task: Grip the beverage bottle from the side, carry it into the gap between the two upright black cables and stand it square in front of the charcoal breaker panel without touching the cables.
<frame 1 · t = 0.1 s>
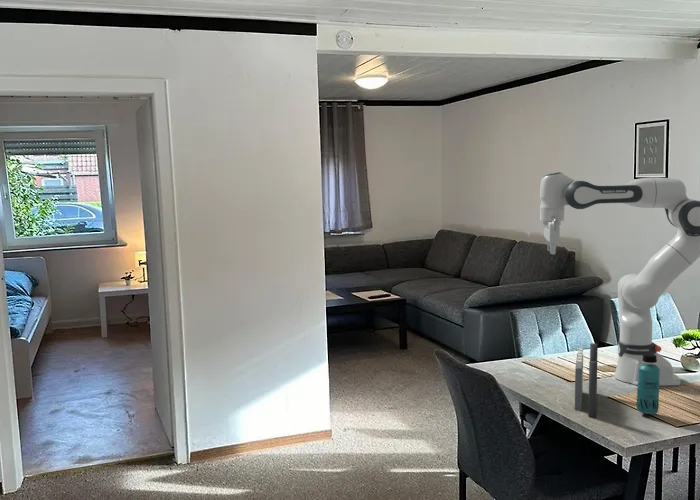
hand: (551, 252, 237), 48 cm above the table, tool pointing down, fingers open, 8 cm apart
beverage bottle: (647, 415, 201), on the table
breaker panel: (578, 403, 213), on the table
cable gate: (592, 404, 211), on the table
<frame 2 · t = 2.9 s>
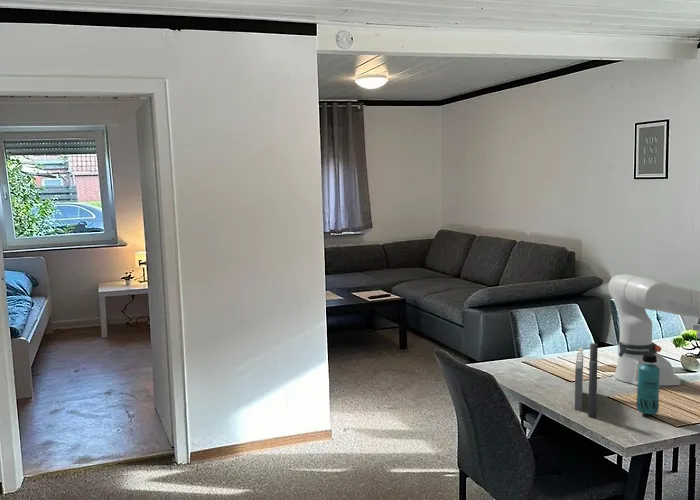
hand: (694, 331, 193), 28 cm above the table, tool horizontal, fingers open, 8 cm apart
nothing on the table moved.
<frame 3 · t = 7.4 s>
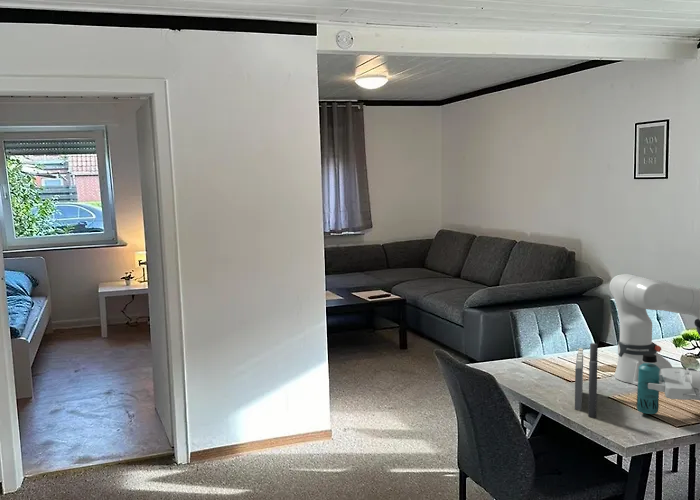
hand: (646, 381, 200), 11 cm above the table, tool horizontal, fingers open, 7 cm apart
beverage bottle: (647, 415, 201), on the table, touching gripper
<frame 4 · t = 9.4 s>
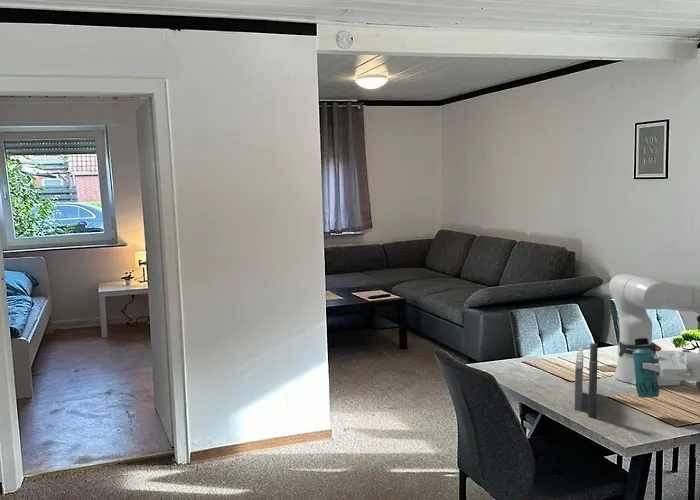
hand: (641, 363, 200), 17 cm above the table, tool horizontal, fingers closed on beverage bottle, 4 cm apart
beverage bottle: (649, 401, 200), point 5 cm above the table, touching gripper
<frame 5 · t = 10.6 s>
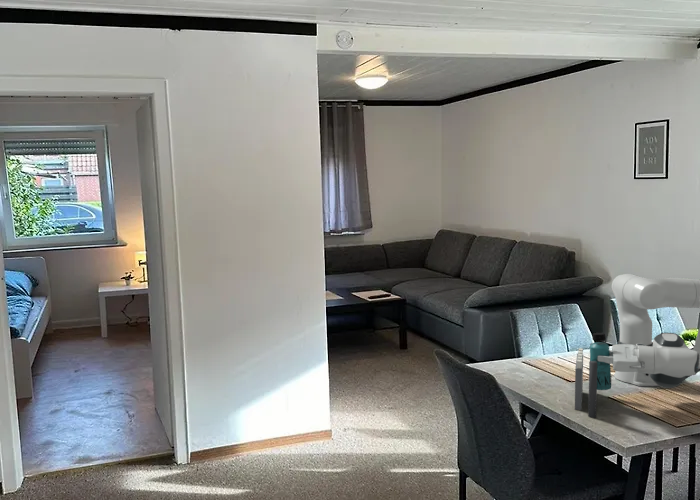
hand: (597, 355, 209), 17 cm above the table, tool horizontal
beverage bottle: (602, 392, 210), point 4 cm above the table, touching gripper
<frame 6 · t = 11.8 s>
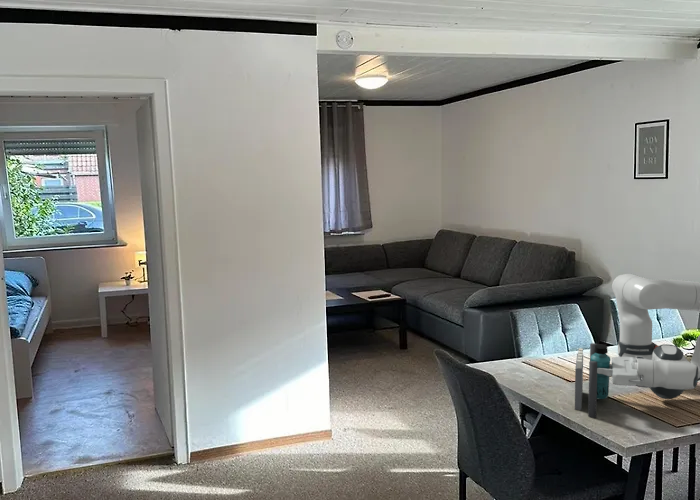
hand: (597, 368, 209), 13 cm above the table, tool horizontal, fingers closed on beverage bottle, 2 cm apart
beverage bottle: (598, 398, 215), on the table, touching gripper
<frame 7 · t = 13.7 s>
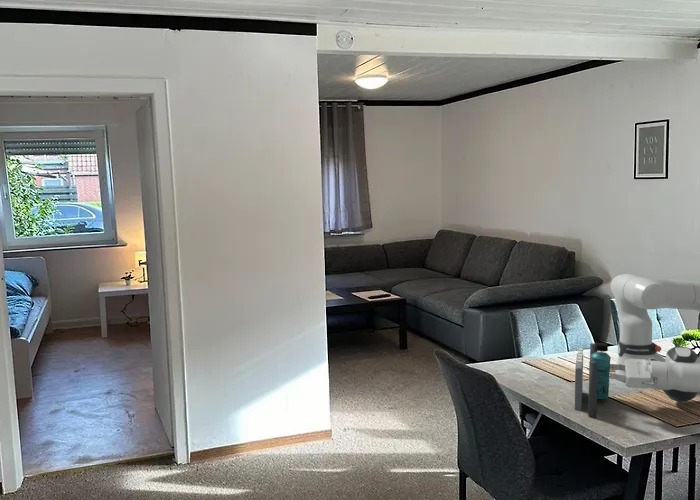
hand: (609, 371, 207), 12 cm above the table, tool horizontal, fingers open, 8 cm apart
beverage bottle: (598, 400, 215), on the table, touching gripper
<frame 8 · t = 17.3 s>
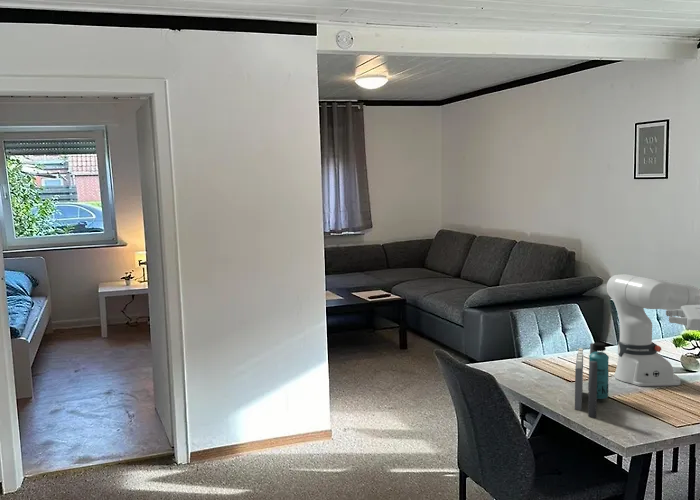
hand: (667, 316, 199), 32 cm above the table, tool horizontal, fingers open, 8 cm apart
beverage bottle: (598, 400, 215), on the table
at the end: beverage bottle inside the target area (3.5 cm from its centre), on the table; beverage bottle tilted 1°; beverage bottle touching table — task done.
